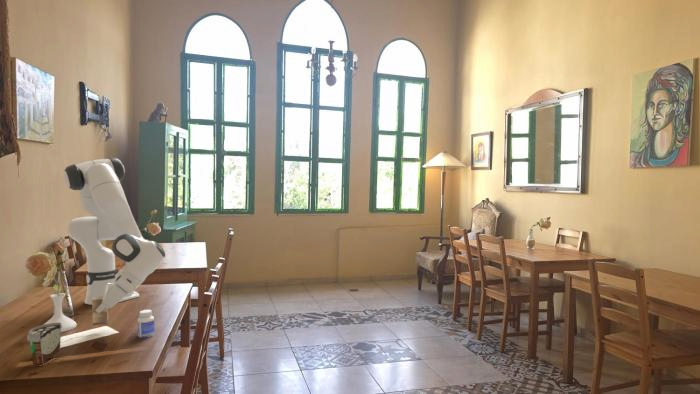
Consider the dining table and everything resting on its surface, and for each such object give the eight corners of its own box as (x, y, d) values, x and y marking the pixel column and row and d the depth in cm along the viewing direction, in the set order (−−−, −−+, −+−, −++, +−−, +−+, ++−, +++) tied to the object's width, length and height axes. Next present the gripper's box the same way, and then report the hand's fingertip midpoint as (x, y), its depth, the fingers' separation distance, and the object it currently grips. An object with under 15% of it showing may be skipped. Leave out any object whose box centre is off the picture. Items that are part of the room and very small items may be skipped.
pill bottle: (158, 336, 161) (157, 309, 161) (146, 341, 156) (146, 314, 156) (146, 334, 163) (145, 308, 163) (134, 339, 158) (133, 312, 158)
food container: (42, 352, 147) (41, 322, 146) (62, 351, 148) (61, 321, 147) (18, 368, 135) (17, 335, 134) (40, 368, 135) (38, 335, 135)
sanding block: (108, 319, 165) (107, 295, 165) (107, 323, 161) (106, 298, 161) (94, 321, 164) (93, 296, 163) (92, 325, 159) (92, 300, 159)
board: (106, 328, 169) (106, 325, 169) (119, 335, 162) (119, 332, 162) (44, 344, 154) (44, 340, 154) (56, 352, 147) (56, 348, 147)
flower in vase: (44, 329, 169) (41, 263, 168) (79, 324, 174) (77, 260, 172) (35, 340, 157) (33, 270, 156) (73, 336, 162) (71, 267, 161)
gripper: (123, 268, 174) (95, 296, 171) (118, 280, 155) (86, 311, 152) (136, 279, 176) (108, 306, 172) (133, 291, 157) (102, 322, 154)
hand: (98, 309), depth 162 cm, fingers closed on sanding block, 4 cm apart
